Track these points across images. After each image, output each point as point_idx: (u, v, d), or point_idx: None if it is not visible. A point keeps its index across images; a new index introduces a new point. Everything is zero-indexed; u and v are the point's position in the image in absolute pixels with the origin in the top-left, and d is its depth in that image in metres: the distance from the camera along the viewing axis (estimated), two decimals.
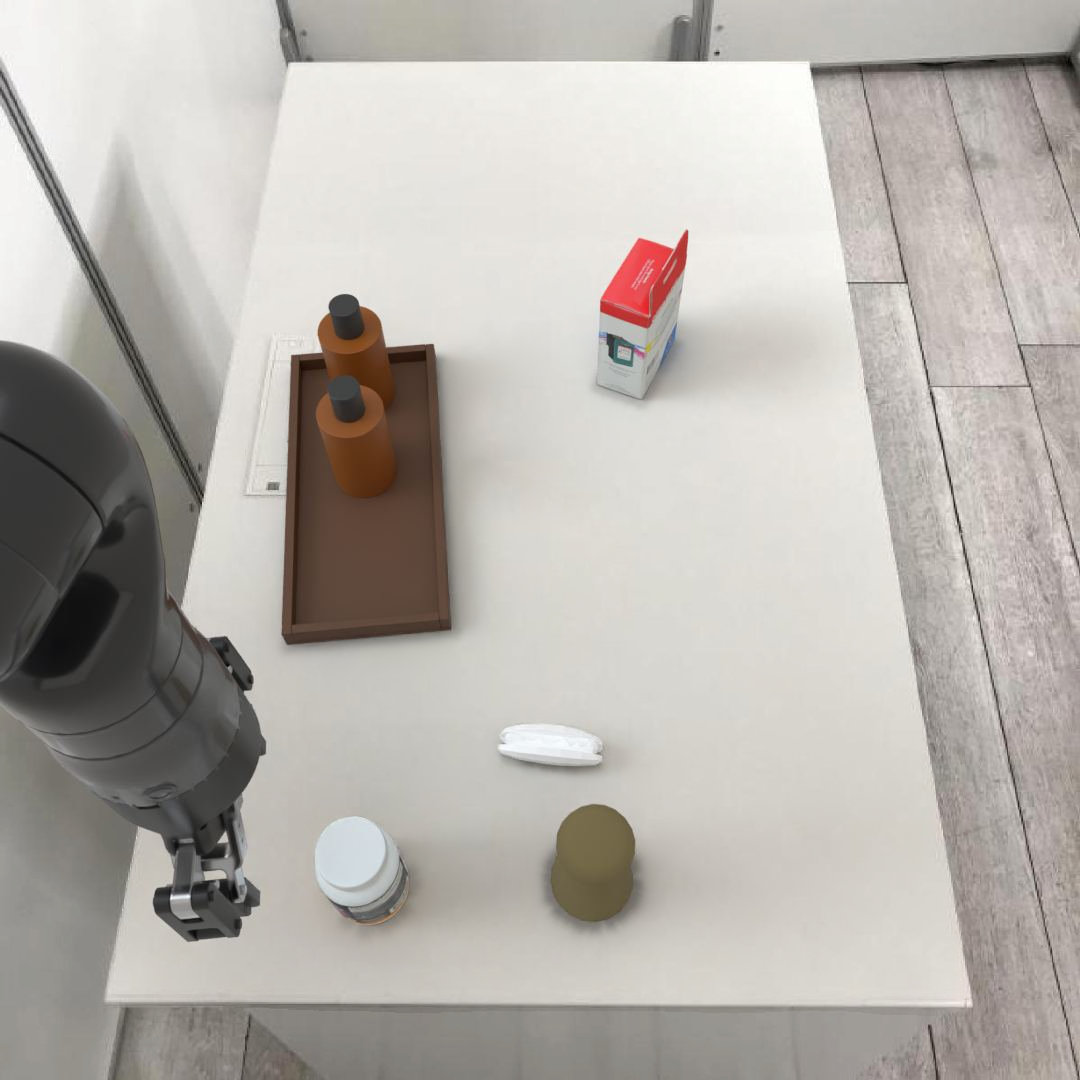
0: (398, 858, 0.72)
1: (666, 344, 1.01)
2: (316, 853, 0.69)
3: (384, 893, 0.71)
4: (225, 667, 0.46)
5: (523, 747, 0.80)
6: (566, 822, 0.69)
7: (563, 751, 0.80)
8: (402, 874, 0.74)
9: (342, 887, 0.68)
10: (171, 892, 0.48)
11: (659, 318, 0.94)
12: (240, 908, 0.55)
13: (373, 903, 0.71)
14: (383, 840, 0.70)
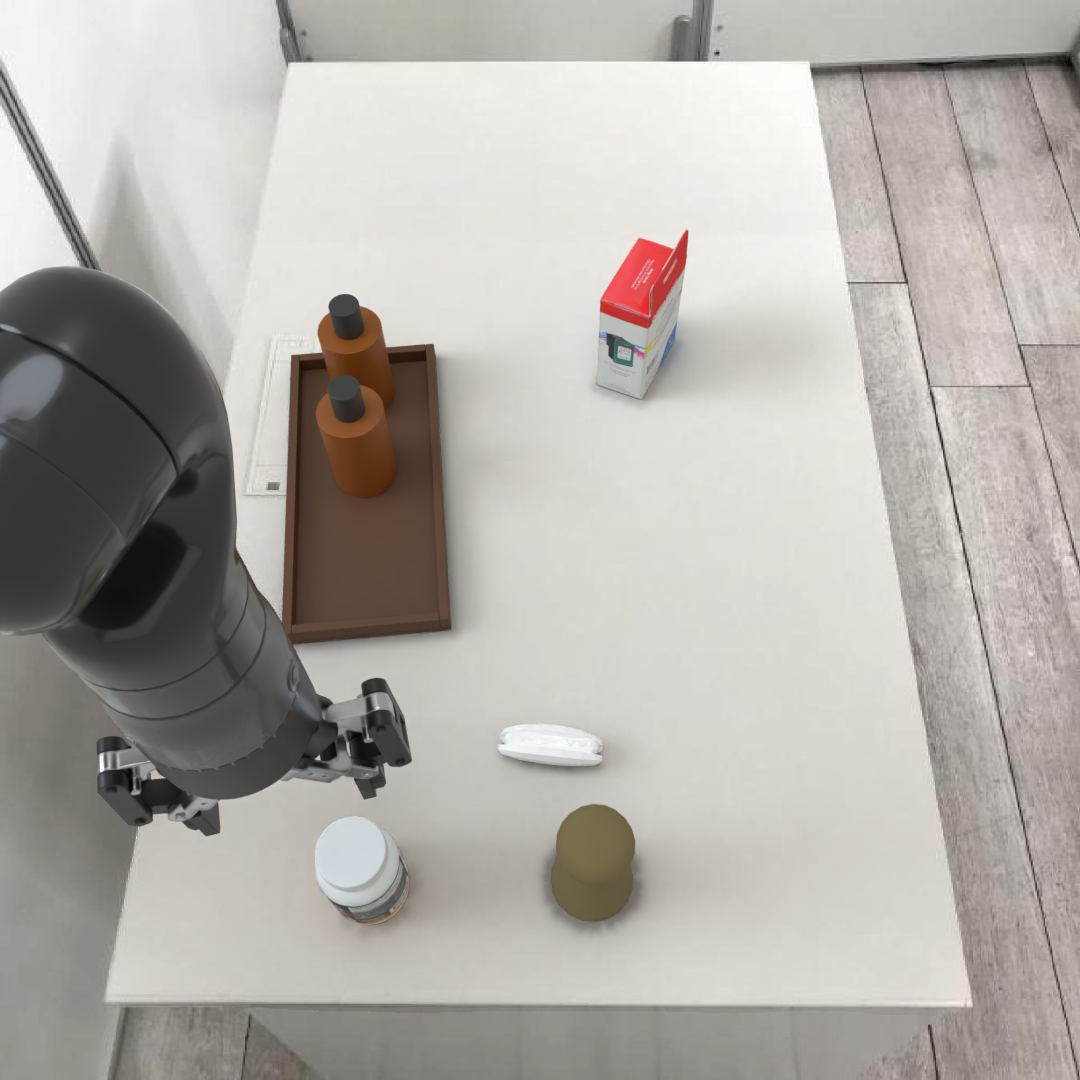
0: (398, 858, 0.72)
1: (666, 344, 1.01)
2: (316, 853, 0.69)
3: (384, 893, 0.71)
4: (238, 739, 0.42)
5: (523, 747, 0.80)
6: (566, 822, 0.69)
7: (563, 751, 0.80)
8: (402, 874, 0.74)
9: (342, 887, 0.68)
10: (110, 751, 0.49)
11: (659, 318, 0.94)
12: None
13: (373, 903, 0.71)
14: (383, 840, 0.70)
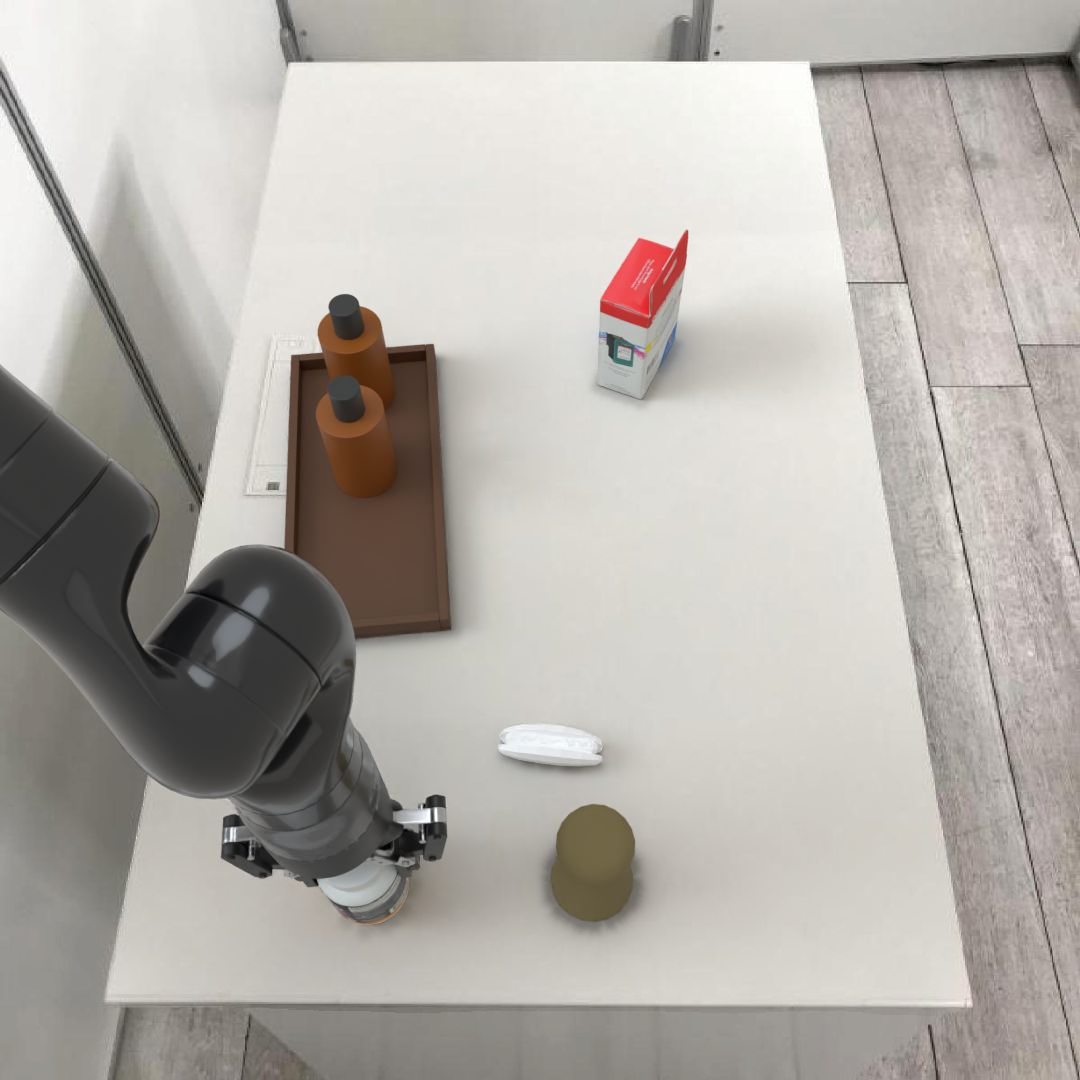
0: None
1: (666, 344, 1.01)
2: None
3: (384, 893, 0.71)
4: (331, 844, 0.56)
5: (523, 747, 0.80)
6: (566, 822, 0.69)
7: (563, 751, 0.80)
8: None
9: (342, 887, 0.68)
10: (231, 827, 0.64)
11: (659, 318, 0.94)
12: None
13: (373, 903, 0.71)
14: None
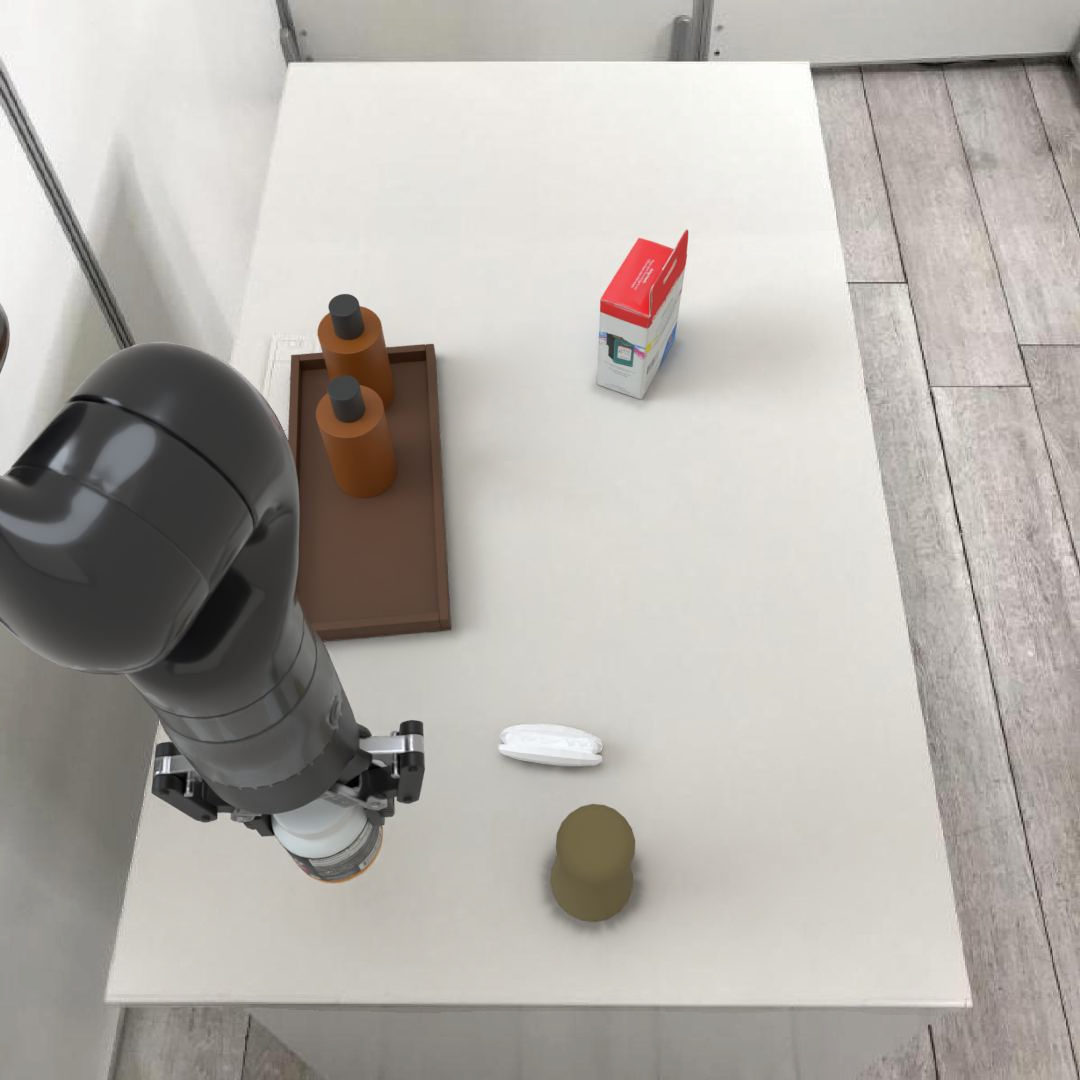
0: None
1: (666, 344, 1.01)
2: None
3: (352, 843, 0.60)
4: (278, 765, 0.45)
5: (523, 747, 0.80)
6: (566, 822, 0.69)
7: (563, 751, 0.80)
8: None
9: (301, 833, 0.57)
10: (164, 756, 0.53)
11: (659, 318, 0.94)
12: None
13: (338, 855, 0.60)
14: None
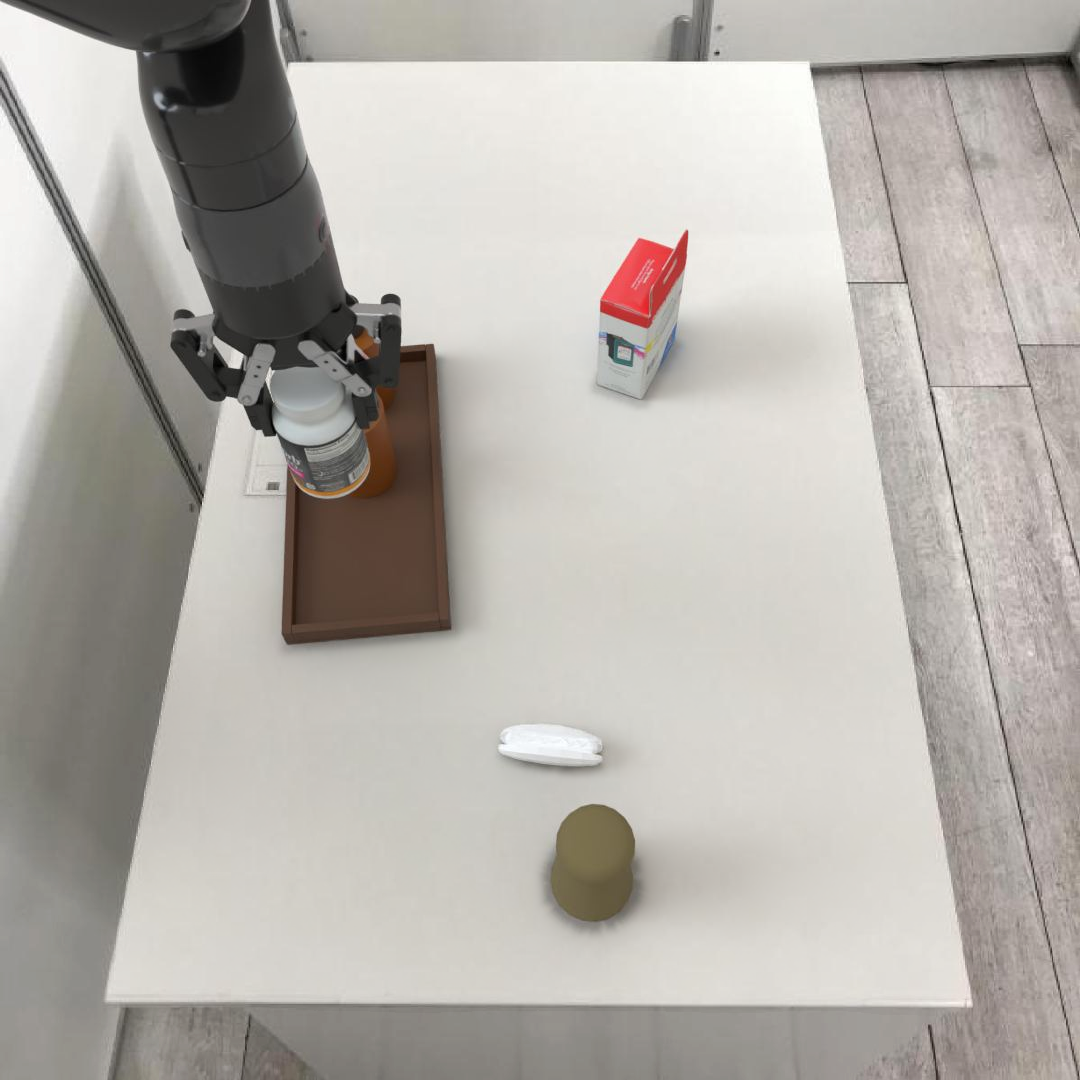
0: None
1: (666, 344, 1.01)
2: (271, 382, 0.68)
3: (341, 435, 0.70)
4: (276, 257, 0.54)
5: (523, 747, 0.80)
6: (566, 822, 0.69)
7: (563, 751, 0.80)
8: (361, 433, 0.72)
9: (297, 410, 0.67)
10: (181, 318, 0.63)
11: (659, 318, 0.94)
12: (245, 410, 0.69)
13: (330, 446, 0.70)
14: None
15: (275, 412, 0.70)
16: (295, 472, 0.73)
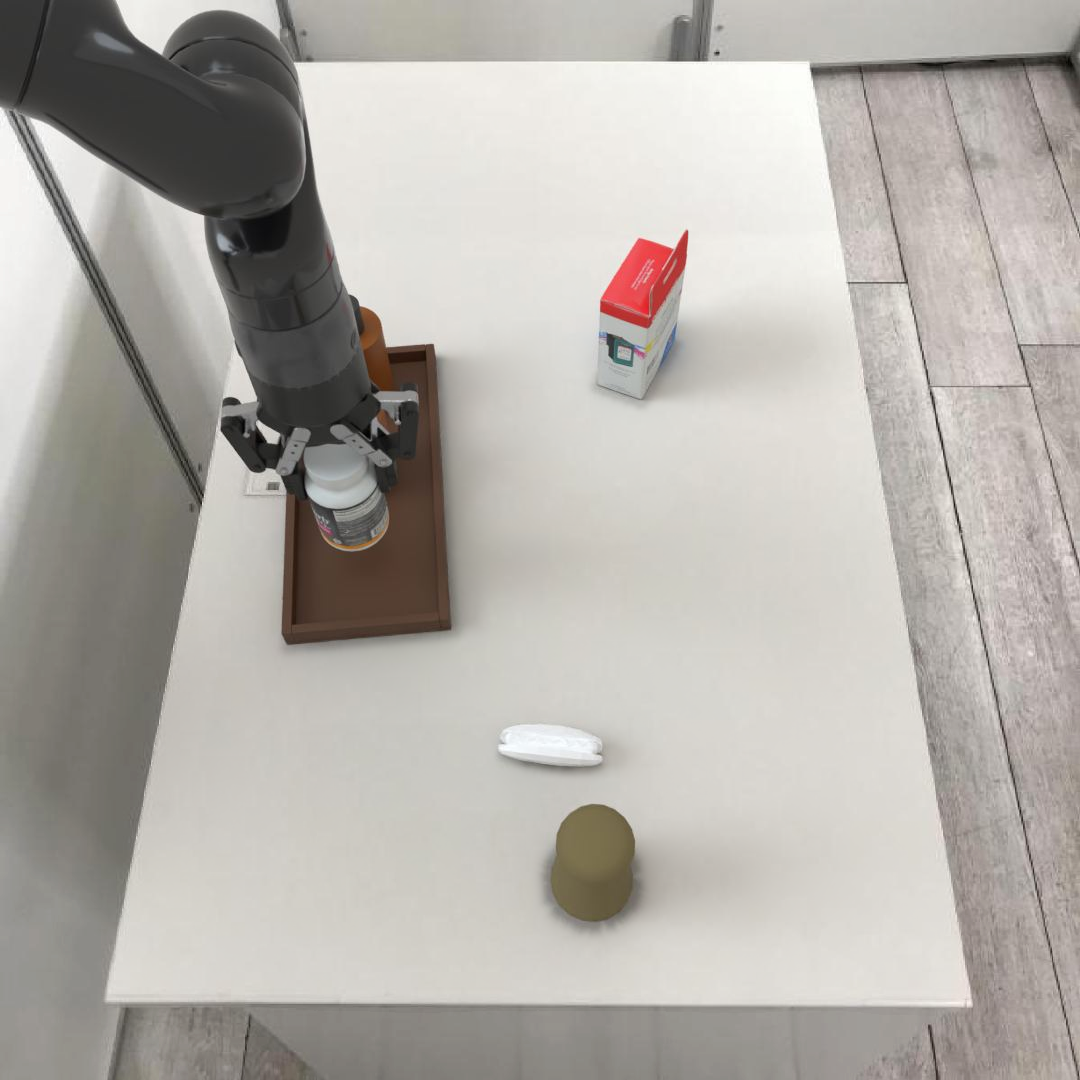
0: None
1: (666, 344, 1.01)
2: (305, 455, 0.78)
3: (365, 499, 0.80)
4: (315, 364, 0.65)
5: (523, 747, 0.80)
6: (566, 822, 0.69)
7: (563, 751, 0.80)
8: (382, 495, 0.83)
9: (327, 480, 0.77)
10: (229, 405, 0.73)
11: (659, 318, 0.94)
12: (282, 478, 0.79)
13: (355, 509, 0.80)
14: None
15: (307, 479, 0.80)
16: (324, 529, 0.83)
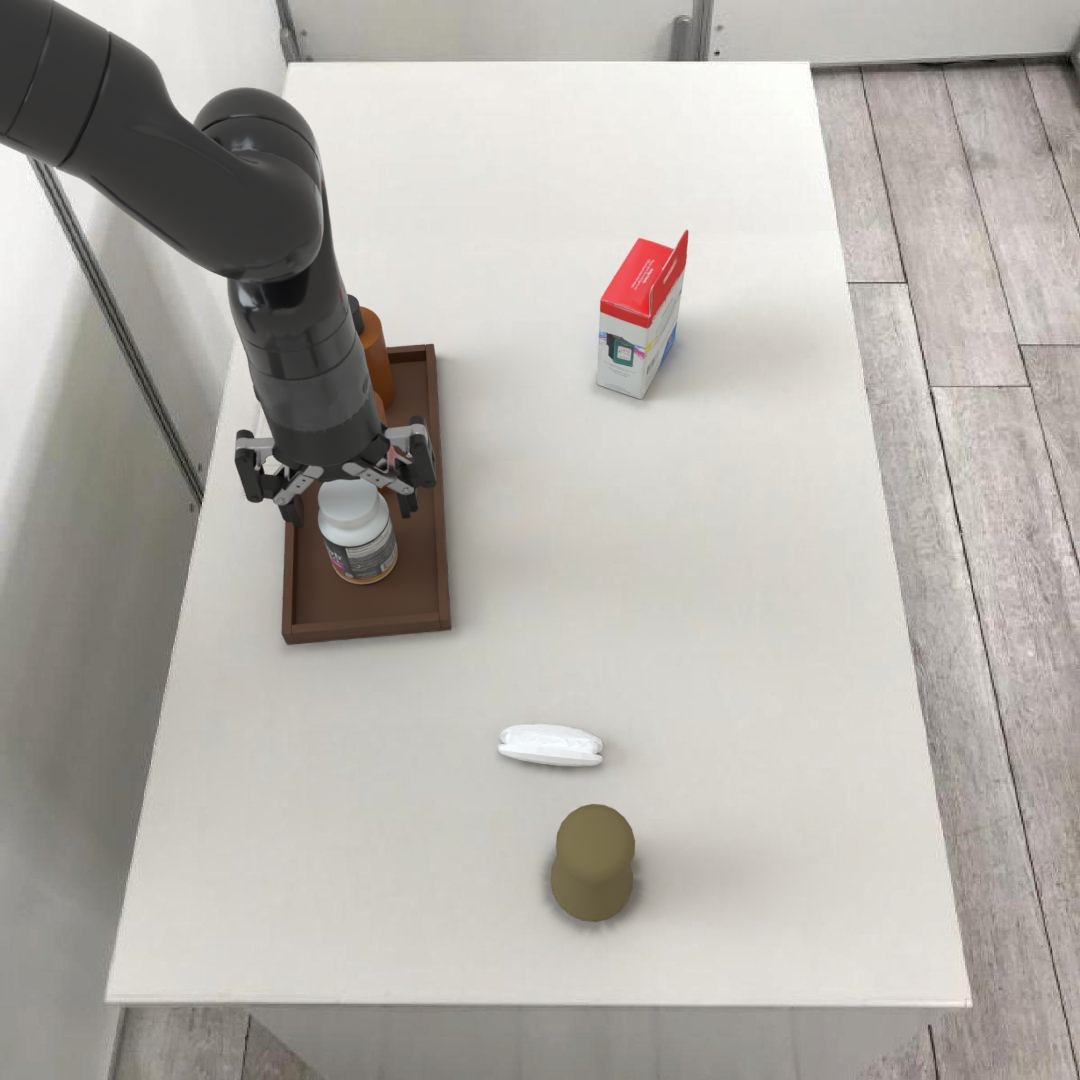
0: (388, 512, 0.86)
1: (666, 344, 1.01)
2: (319, 496, 0.83)
3: (376, 537, 0.85)
4: (330, 410, 0.68)
5: (523, 747, 0.80)
6: (566, 822, 0.69)
7: (563, 751, 0.80)
8: (391, 532, 0.87)
9: (341, 520, 0.82)
10: (245, 438, 0.76)
11: (659, 318, 0.94)
12: (279, 507, 0.82)
13: (367, 546, 0.85)
14: (375, 487, 0.83)
15: (321, 518, 0.84)
16: (336, 564, 0.88)
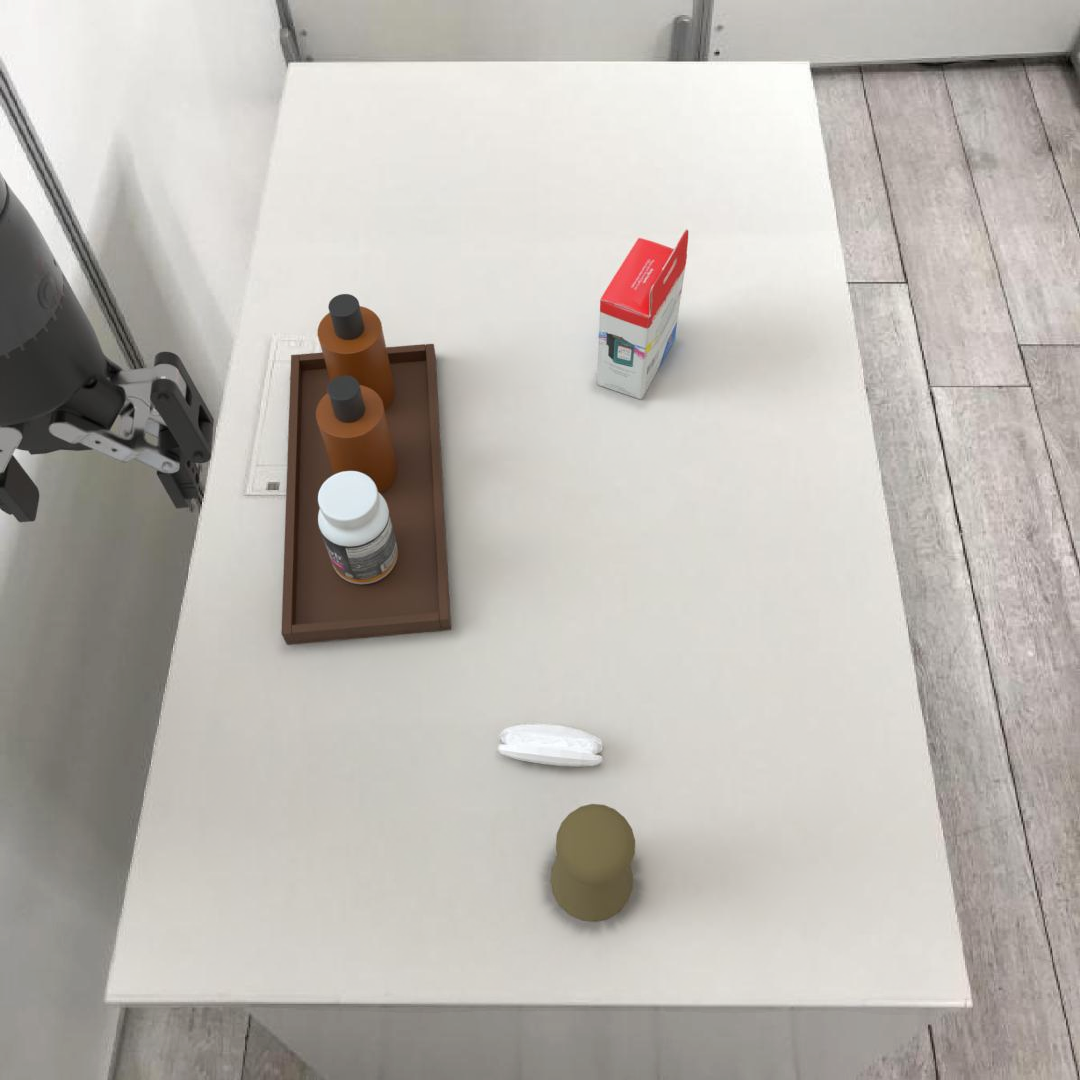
0: (388, 512, 0.86)
1: (666, 344, 1.01)
2: (319, 496, 0.83)
3: (376, 537, 0.85)
4: None
5: (523, 747, 0.80)
6: (566, 822, 0.69)
7: (563, 751, 0.80)
8: (391, 532, 0.87)
9: (341, 520, 0.82)
10: None
11: (659, 318, 0.94)
12: None
13: (367, 546, 0.85)
14: (375, 487, 0.83)
15: (321, 518, 0.84)
16: (336, 564, 0.88)
